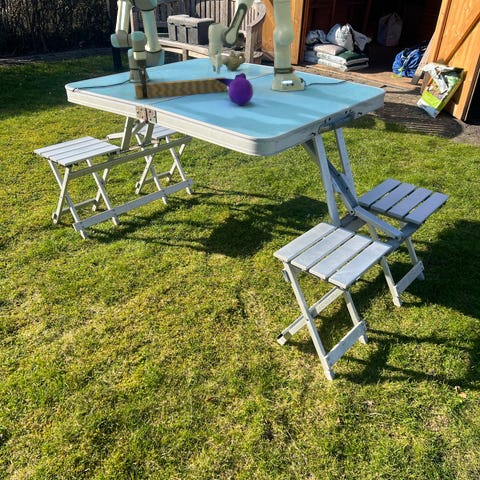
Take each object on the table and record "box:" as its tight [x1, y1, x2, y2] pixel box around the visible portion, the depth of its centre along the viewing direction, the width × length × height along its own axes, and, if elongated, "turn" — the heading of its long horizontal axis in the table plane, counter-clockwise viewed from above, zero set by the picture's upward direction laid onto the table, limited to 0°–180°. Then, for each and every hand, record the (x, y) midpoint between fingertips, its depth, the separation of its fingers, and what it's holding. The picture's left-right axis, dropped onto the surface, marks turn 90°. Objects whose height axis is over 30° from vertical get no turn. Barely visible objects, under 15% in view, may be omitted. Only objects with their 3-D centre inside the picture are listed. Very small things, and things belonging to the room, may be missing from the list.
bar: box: [133, 76, 228, 100], centre depth 296 cm, size 61×6×8 cm, turn 107°
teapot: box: [222, 50, 246, 71], centre depth 368 cm, size 21×12×15 cm, turn 120°
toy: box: [215, 72, 254, 106], centre depth 272 cm, size 16×18×27 cm
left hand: (144, 96), depth 292 cm, fingers closed on bar, 6 cm apart
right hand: (216, 72), depth 298 cm, fingers open, 8 cm apart
